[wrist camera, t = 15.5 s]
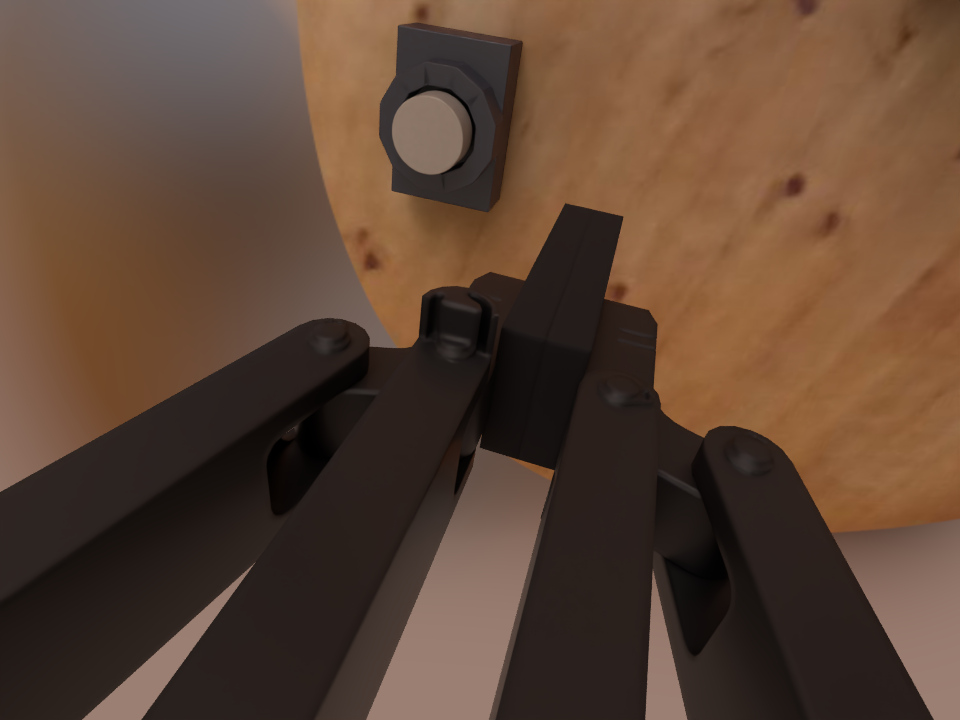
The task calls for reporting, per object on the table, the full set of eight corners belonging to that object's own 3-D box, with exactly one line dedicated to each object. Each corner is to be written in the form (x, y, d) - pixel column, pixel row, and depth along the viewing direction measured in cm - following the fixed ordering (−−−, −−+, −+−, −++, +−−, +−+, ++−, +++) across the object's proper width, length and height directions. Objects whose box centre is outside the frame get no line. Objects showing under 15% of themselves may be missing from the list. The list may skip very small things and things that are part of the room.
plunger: (405, 84, 34) (393, 88, 33) (476, 97, 33) (467, 103, 32) (402, 159, 37) (390, 166, 35) (468, 173, 36) (458, 181, 34)
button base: (413, 22, 36) (381, 26, 32) (525, 41, 35) (506, 48, 31) (405, 179, 42) (377, 199, 38) (501, 200, 41) (482, 223, 37)
